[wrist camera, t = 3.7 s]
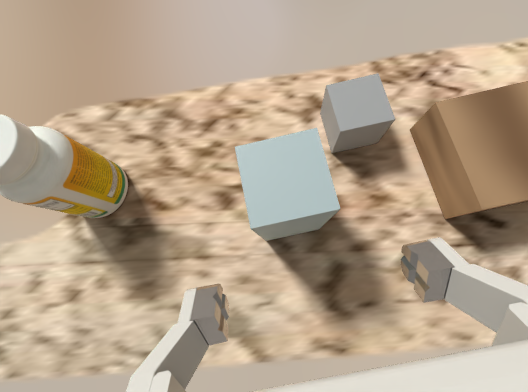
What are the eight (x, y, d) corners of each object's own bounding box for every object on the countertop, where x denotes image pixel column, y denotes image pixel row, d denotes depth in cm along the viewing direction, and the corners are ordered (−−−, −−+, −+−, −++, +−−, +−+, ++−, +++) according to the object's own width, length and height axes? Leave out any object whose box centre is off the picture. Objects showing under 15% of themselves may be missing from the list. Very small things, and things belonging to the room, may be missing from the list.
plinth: (444, 219, 20) (482, 209, 16) (409, 129, 22) (435, 102, 18) (548, 197, 20) (611, 182, 16) (503, 108, 22) (549, 75, 18)
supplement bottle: (95, 231, 23) (-39, 212, 13) (65, 190, 24) (-78, 146, 15) (142, 189, 23) (44, 143, 14) (109, 151, 24) (0, 85, 15)
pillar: (266, 240, 21) (250, 228, 12) (255, 190, 22) (234, 146, 13) (318, 229, 21) (340, 208, 12) (305, 179, 22) (317, 127, 13)
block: (331, 153, 22) (340, 131, 19) (320, 114, 23) (326, 85, 20) (376, 143, 22) (395, 119, 18) (363, 104, 23) (378, 73, 19)
